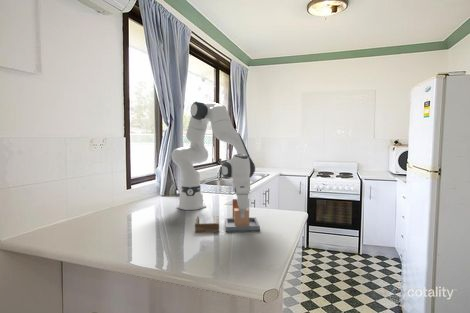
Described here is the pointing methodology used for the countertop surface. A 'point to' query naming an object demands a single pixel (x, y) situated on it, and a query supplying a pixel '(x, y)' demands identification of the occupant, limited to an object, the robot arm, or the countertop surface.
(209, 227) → the walnut bay
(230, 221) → the grey tray
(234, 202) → the small box
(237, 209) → the tan wooden block
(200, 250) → the countertop surface
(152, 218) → the countertop surface
